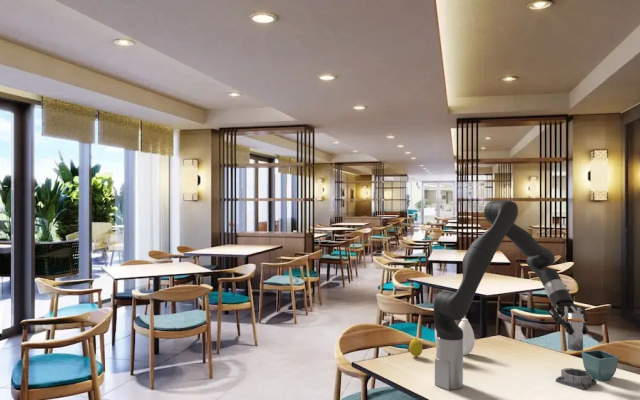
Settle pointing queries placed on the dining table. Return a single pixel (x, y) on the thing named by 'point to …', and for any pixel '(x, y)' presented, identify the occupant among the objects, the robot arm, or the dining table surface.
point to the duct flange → (576, 378)
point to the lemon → (415, 347)
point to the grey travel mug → (575, 331)
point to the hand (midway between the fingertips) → (578, 333)
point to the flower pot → (600, 364)
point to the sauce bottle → (467, 336)
